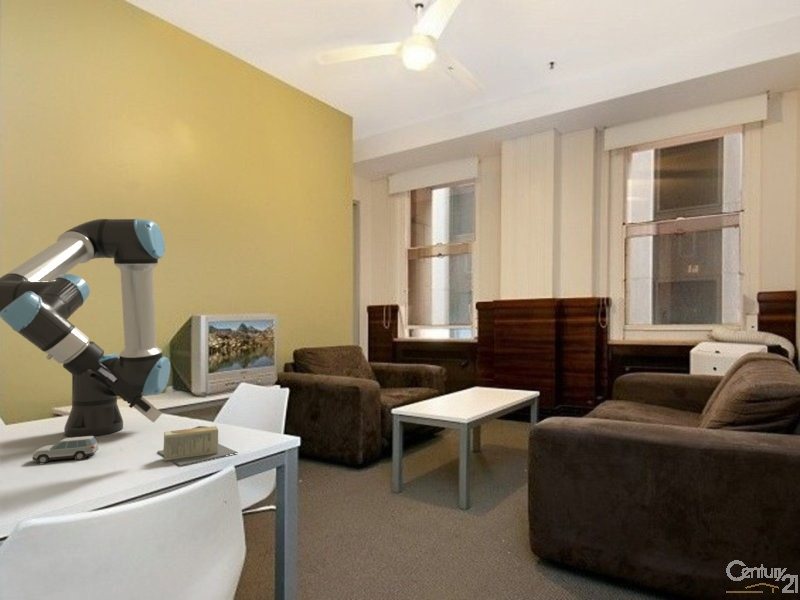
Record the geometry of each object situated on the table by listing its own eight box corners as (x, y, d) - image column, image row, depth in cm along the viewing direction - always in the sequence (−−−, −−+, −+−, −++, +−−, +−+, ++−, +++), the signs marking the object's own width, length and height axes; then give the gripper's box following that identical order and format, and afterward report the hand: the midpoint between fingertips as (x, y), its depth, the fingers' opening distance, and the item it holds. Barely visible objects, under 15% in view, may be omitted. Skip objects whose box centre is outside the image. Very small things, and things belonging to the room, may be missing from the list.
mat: (157, 452, 119) (157, 451, 119) (211, 442, 129) (211, 440, 129) (180, 466, 108) (180, 465, 108) (237, 453, 118) (237, 452, 118)
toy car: (38, 459, 116) (39, 438, 116) (99, 453, 120) (99, 433, 120) (29, 466, 110) (30, 444, 111) (93, 459, 115) (93, 439, 115)
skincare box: (163, 456, 115) (216, 450, 121) (163, 461, 111) (218, 455, 117) (164, 429, 115) (216, 425, 121) (164, 434, 111) (219, 429, 117)
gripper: (55, 363, 105) (136, 426, 116) (67, 367, 95) (154, 435, 107) (84, 339, 109) (159, 401, 120) (97, 340, 99) (178, 408, 111)
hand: (157, 417), depth 113 cm, fingers closed
